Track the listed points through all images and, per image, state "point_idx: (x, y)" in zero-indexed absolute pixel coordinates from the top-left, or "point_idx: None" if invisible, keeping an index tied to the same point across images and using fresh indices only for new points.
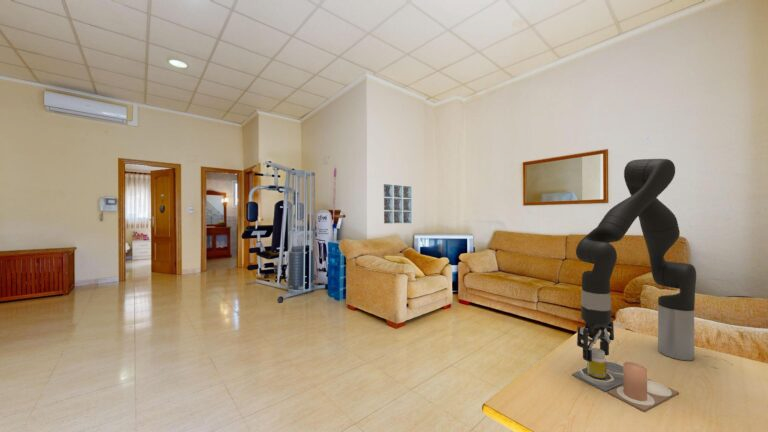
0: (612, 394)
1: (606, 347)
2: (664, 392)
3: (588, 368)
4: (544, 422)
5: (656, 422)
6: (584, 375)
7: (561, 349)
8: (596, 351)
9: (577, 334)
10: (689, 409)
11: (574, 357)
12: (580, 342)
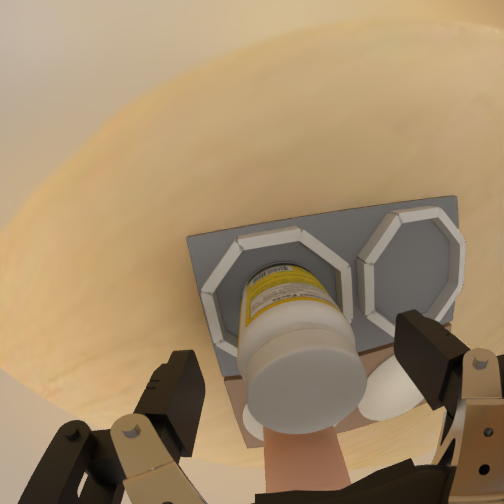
0: (228, 393)
1: (421, 384)
2: (397, 408)
3: (243, 304)
4: (8, 369)
5: (236, 461)
6: (203, 302)
7: (360, 24)
8: (291, 407)
9: (19, 500)
10: (371, 441)
11: (364, 94)
12: (78, 460)
